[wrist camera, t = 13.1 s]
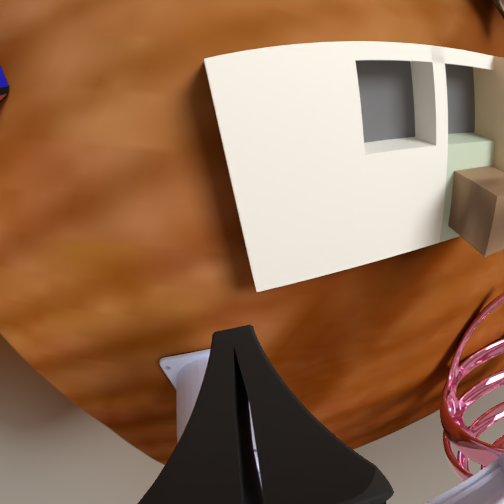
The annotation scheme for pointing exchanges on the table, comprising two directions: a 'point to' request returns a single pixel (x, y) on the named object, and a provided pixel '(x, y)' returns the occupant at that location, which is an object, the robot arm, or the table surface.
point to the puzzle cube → (3, 85)
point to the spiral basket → (455, 407)
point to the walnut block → (479, 208)
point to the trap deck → (350, 148)
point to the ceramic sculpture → (500, 6)
